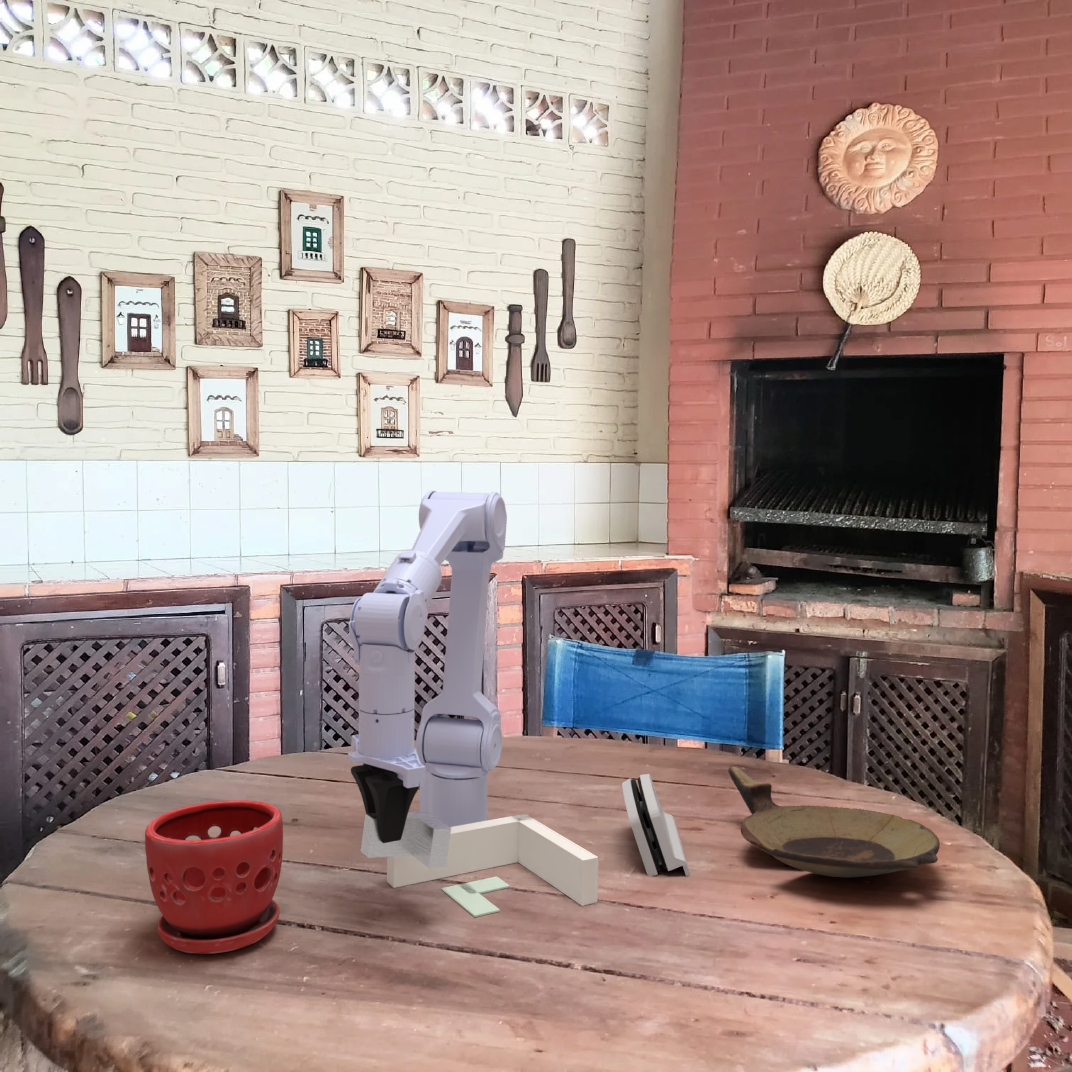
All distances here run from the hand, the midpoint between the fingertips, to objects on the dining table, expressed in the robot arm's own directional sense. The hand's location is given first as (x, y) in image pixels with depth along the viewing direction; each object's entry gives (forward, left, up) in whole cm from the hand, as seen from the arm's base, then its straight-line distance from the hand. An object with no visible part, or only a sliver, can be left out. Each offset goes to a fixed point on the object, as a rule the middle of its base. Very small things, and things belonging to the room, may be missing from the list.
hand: (385, 836), depth 106 cm
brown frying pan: (+11, +54, -9) cm, 55 cm away
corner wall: (0, +12, -8) cm, 15 cm away
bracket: (+2, +1, -2) cm, 3 cm away
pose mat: (+1, +11, -8) cm, 14 cm away
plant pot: (-4, -17, -9) cm, 19 cm away
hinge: (-2, +36, -9) cm, 37 cm away
